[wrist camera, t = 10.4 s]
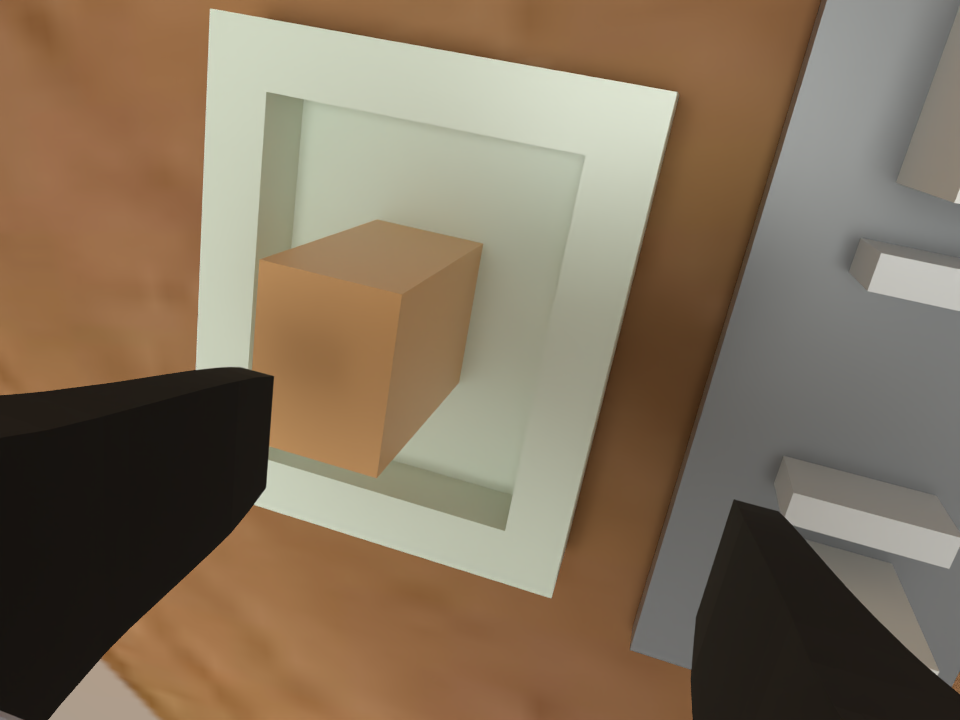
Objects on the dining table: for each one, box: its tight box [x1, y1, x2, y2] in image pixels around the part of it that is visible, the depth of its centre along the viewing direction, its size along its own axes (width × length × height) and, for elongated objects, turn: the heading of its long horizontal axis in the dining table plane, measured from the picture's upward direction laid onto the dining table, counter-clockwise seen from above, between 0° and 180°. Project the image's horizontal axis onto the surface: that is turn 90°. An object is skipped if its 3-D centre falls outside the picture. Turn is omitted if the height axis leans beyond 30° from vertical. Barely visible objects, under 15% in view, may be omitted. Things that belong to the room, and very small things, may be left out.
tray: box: [196, 9, 679, 598], centre depth 20 cm, size 13×11×2 cm
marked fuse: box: [252, 220, 483, 478], centre depth 18 cm, size 4×3×6 cm
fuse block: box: [630, 0, 960, 687], centre depth 16 cm, size 19×8×5 cm, turn 170°
